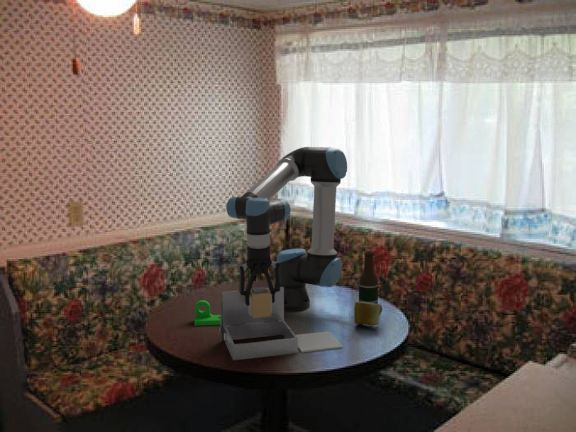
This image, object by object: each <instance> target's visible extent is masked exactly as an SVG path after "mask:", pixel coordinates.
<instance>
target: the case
mask: <svg viewBox="0 0 576 432" xmlns="http://www.w3.org/2000/svg"><path fill="white" fill-rule="evenodd" d="M266 288H267V289H268V290H269V287H266ZM245 290H246V289H244V291H245ZM269 292H270V290H269ZM219 308H220V309H219V311H220V314H219V315H220V318H221V325H220V326H218V327H219V328H218V329H219V333H220V342H221V343H225V345H226V348H227V350H228V352H229V354H230V357H231V359H232V361H239V360H248V359H256V358H265V357H274V356H283V355H292V354H298V353H299V348H298V338H297V337H296V335H297V334H295V333H294V331H293V330H292V329H291V328H290V326H289V325H288V324H287V322H286V321H285V311H284V287H280V291H279V292H276V293H275V302H274V303H272V313H271V316H268V317H259V318H253V317H252V316H250V315H249V312H248V306H247V305H246V304H245V296H244V295H241V294H240V292H239V290H233V291H231V290H229V291H222V301H220V302H219ZM272 336H273V337H274V336H282V337H284V338H282V339H272V340H263V341H262V340H261V341H254V342H253V341H252V342H244V343H234V341H236V340H243V339H244V340H245V339H255V338H256V339H257V338H262V337H272Z"/></svg>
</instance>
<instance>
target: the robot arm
mask: <svg viewBox="0 0 576 432" xmlns="http://www.w3.org/2000/svg"><path fill="white" fill-rule="evenodd" d="M347 161H348V159H347V157H346V155H345V153H344V150H342V149H340V148H338V147H337V148H336V147H331V146H329V147H328V146H327V147H322V146H321V147H319V146H304V147H299V148H297V149H295V150H292V151H291V152H289V153H287V154H286V155H284V156H283V157H282V158H281V159H280V160H278V161H277V164H276V166H275V167H274V168H272V170H270V171H269V172H268V173H266V175H265V176H264V177H262V178H261V179H260V180H259V181H257V183H255V184H254V185H252V187H251V188H250V189H248V190H247V191H245V193H244V194H243V195H241V196H233V197H230V198H229V199H228V200H227V202H226V206H225V207H226V209H225V210H226V212H227V215H228V217H230V218H234V219H238V220H246V221H245V222H246V245H247V247H246V249H247V250H246V251H247V252H246V255H247V257H246V258H247V259H246V261H245V263H243V264H240V263H239V264H238V265H237V267H238V270H239V286H238V288H239V290H238V291H239V292H240V294H241V295H244V296H245V304H246V305H247V306H248V312H249V315H250V316H252V296H251V295H250V292H251V289H252V288H253V284H254V281H255V278H256V275H259V274H262V275H263V276H264V279H265V281H266V283H267V284H266V285H267V288H269V290H270V293H271V313H272V303H274V302H275V293H276V292H279V291H280V287H284V312H285V311H287V312H299V311H303V310H307V309H309V308H310V306H311V300H310V296H309V293H308V291H307V290H308V289H307V286H306V285H312V286H317V287H324V288H325V287H326V288H331V287H332V288H333V287H334V286H335V285H336V284H337V283H338V281H339V280H340V278H341V276H342V272H343V261H342V260H341V259H340V258H339V257H338V252H337V251H336V249H335V248H334V245H335V244H334V243H335V242H334V241H335V226H336V225H335V222H336V203H337V201H336V200H337V188H338V186H339V185H340V184H341V180H343V179H344V178H345V177H346V176H347V172H348V162H347ZM301 177H308V178H309V177H310V183H311V184H312V185H313V187H314V188H313V203H312V204H313V205H312V206H313V207H312V208H313V209H312V225H311V226H312V227H311V229H312V231H311V247H310V248H309V249H308V250H307V251H306V249H304V248H289V249H284V250H282V251H280V252H278V254H276V255H277V256H276V260H275V261H274V260H272V258H271V246H270V245H271V233H270V232H271V230H270V228H271V227H270V225H272V224H276V223H281V222H283V221H285V220H286V219H287V218H289V216H290V214H291V211H292V210H291V205H290V203H289V202H288V201H287V200H286V199H284V198H275V199H272V198H273V197H274V196H275V195H276V194H277V193H278V192H279V191H281V189H283V187H286V185H287V184H288V183H290V182H292V181H295V180H296V179H297V178H301ZM270 267H271V268H272V270H273V282H274V283H273V282H272V279H271V277H270V274H269V273H270V272H269V269H270ZM247 268H248V269H249V277H248V278H247V279H248V280H247V284H246V286H245V282H246V281H245V280H246V279H245V278H246V272H245V271H246V270H247ZM273 284H274V285H273ZM244 290H245V291H244Z"/></svg>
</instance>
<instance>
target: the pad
mask: <svg viewBox="0 0 576 432" xmlns="http://www.w3.org/2000/svg"><path fill="white" fill-rule="evenodd" d="M295 335H296V337H297V338H298V350H299V351H300V352H301V353H302V354H303V353H311V352H319V351H327V350H337V349H338V350H339V349H343V345H342V344H341V342H339V341H338V340H337V339H336V338H335V337H334V336H333V335H332V334H331V332H330V331H329V330H328V331H321V332H320V331H319V332H312V333H311V332H310V333H301V334H300V333H299V334H295Z"/></svg>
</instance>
